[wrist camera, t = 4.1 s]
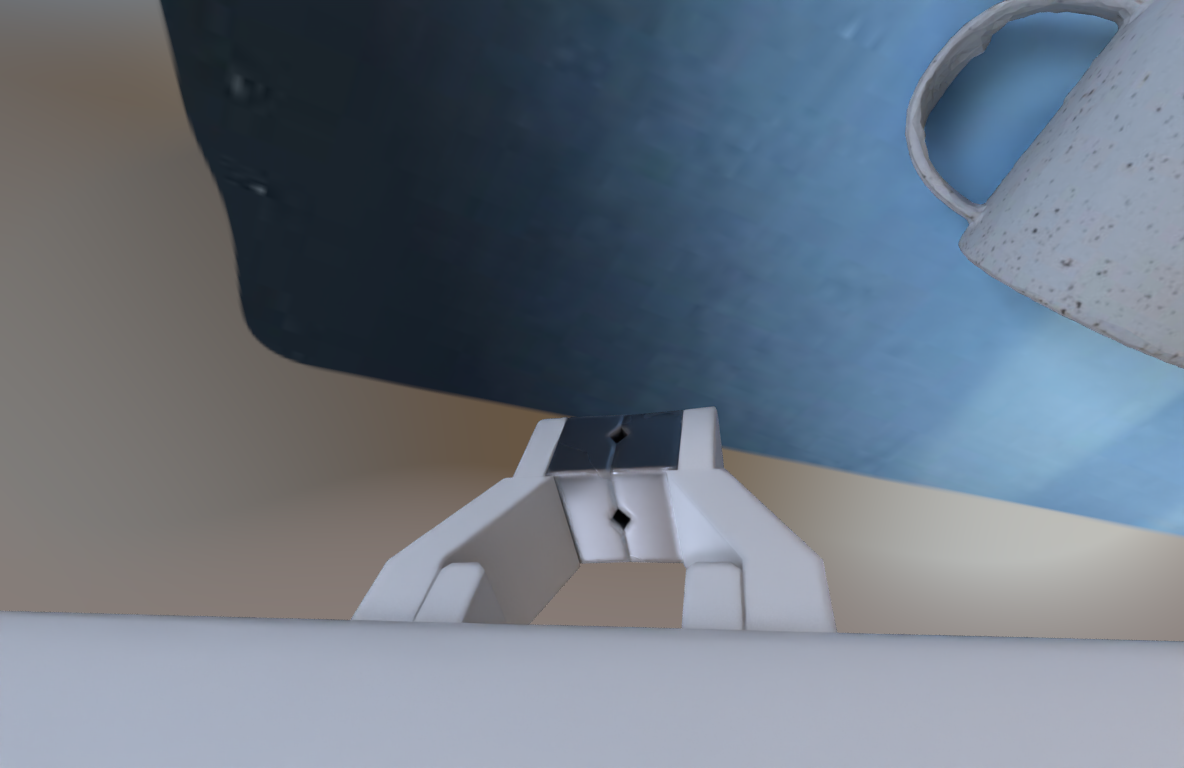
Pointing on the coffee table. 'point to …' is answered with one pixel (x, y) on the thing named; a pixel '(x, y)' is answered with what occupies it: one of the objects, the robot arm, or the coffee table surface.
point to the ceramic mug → (1086, 179)
